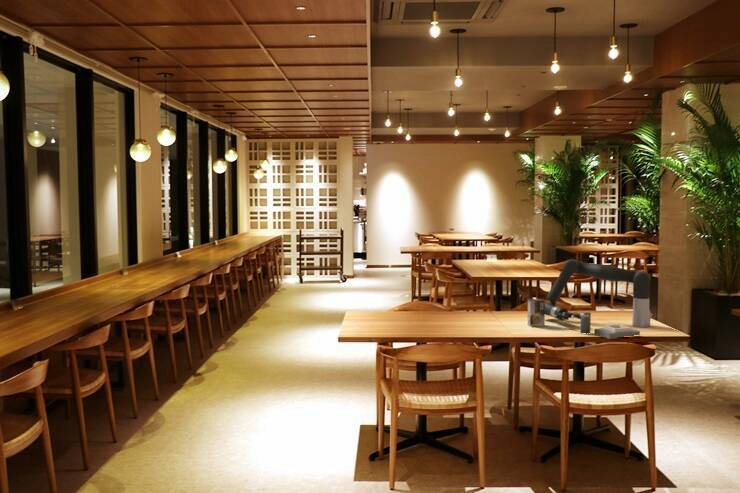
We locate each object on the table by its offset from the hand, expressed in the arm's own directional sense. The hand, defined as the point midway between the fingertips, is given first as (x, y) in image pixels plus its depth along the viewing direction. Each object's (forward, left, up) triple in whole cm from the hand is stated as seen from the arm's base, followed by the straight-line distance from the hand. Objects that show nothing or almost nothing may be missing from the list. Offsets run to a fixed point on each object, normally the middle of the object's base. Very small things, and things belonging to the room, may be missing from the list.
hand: (574, 317), depth 412 cm
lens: (0, +12, -7) cm, 13 cm away
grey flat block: (-14, +22, -7) cm, 27 cm away
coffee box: (+16, -16, -7) cm, 24 cm away
